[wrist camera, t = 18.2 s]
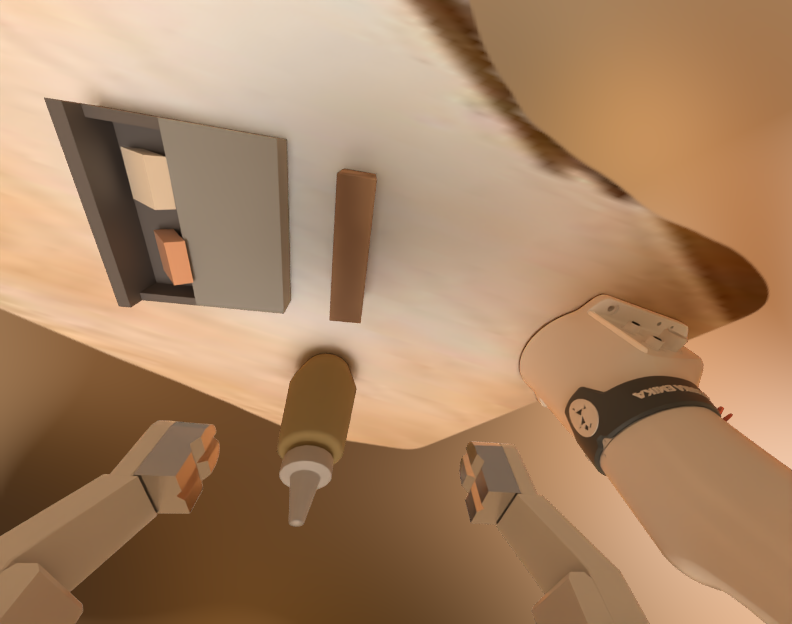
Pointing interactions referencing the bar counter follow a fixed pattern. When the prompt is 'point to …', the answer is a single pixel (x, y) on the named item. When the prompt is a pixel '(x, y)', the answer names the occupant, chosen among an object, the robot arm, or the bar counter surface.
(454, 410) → the bar counter surface
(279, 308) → the grey tray with lip
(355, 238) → the long wooden plank
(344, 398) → the squeeze bottle
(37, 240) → the bar counter surface
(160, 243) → the tile terracotta
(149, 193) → the tile cream
